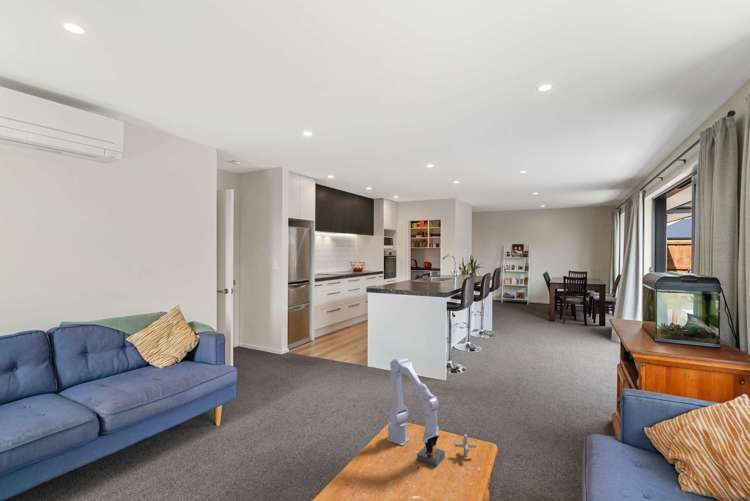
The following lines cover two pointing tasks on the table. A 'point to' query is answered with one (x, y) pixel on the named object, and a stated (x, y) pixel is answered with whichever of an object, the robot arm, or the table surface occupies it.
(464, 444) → the pipe connector
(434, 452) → the tan wooden block
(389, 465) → the table surface
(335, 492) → the table surface
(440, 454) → the grey square frame
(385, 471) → the table surface
